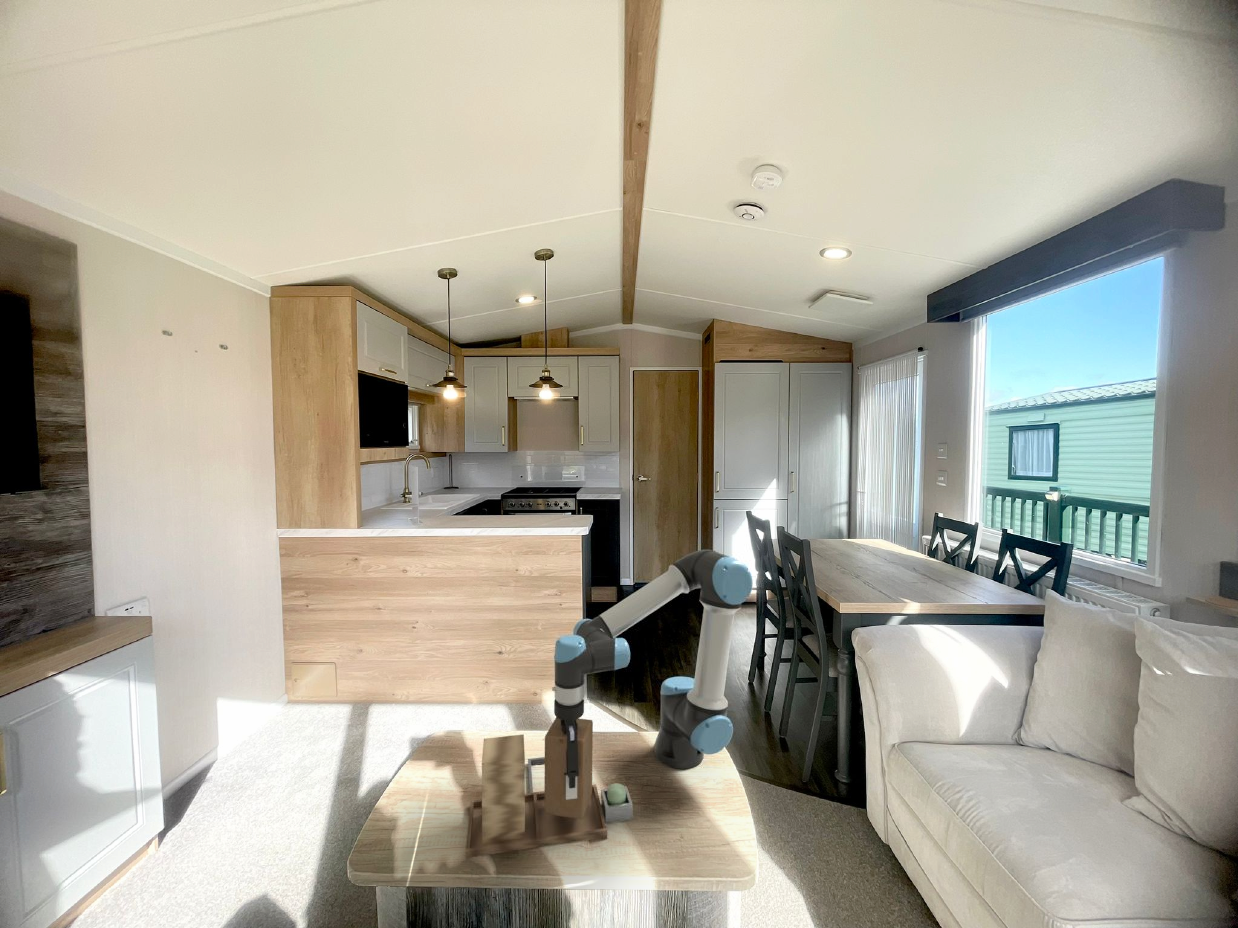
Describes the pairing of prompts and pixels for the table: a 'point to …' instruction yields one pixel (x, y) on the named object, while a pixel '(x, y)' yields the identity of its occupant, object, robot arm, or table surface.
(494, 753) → the seated billet
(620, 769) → the table surface
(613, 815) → the button housing
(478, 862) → the table surface
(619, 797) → the button
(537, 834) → the divided wooden tray
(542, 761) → the tote frame
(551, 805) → the wooden block
